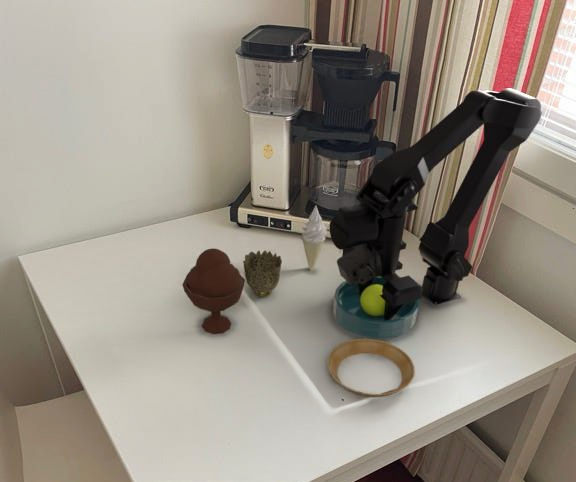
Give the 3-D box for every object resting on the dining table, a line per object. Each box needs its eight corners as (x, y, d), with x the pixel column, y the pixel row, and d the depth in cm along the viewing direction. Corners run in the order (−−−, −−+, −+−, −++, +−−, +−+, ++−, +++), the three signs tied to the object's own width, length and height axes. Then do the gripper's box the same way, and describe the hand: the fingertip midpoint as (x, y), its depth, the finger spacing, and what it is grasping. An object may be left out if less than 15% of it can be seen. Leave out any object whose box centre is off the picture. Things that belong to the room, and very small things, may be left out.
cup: (276, 307, 119) (277, 272, 114) (239, 302, 120) (238, 267, 115) (284, 287, 125) (285, 252, 119) (249, 282, 126) (248, 247, 120)
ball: (379, 301, 121) (383, 275, 117) (395, 318, 117) (400, 291, 113) (352, 308, 119) (356, 282, 115) (368, 325, 115) (372, 299, 111)
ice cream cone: (327, 269, 130) (333, 204, 120) (315, 280, 127) (320, 213, 117) (307, 262, 132) (311, 197, 122) (294, 273, 129) (297, 206, 119)
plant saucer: (365, 339, 113) (367, 327, 111) (429, 379, 105) (432, 367, 103) (308, 373, 105) (309, 362, 103) (373, 419, 97) (375, 407, 96)
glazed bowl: (386, 286, 126) (389, 268, 123) (431, 328, 116) (435, 310, 113) (318, 303, 121) (320, 285, 118) (359, 349, 110) (361, 331, 108)
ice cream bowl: (175, 325, 114) (166, 254, 104) (219, 301, 120) (215, 232, 110) (213, 351, 109) (208, 279, 99) (257, 324, 115) (257, 254, 105)
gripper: (320, 220, 110) (315, 292, 121) (374, 271, 98) (363, 347, 108) (373, 209, 114) (364, 280, 124) (431, 257, 102) (415, 332, 112)
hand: (374, 308), depth 117 cm, fingers open, 8 cm apart
